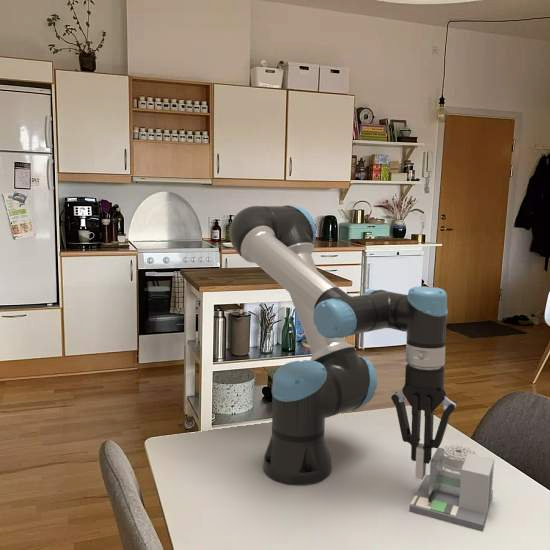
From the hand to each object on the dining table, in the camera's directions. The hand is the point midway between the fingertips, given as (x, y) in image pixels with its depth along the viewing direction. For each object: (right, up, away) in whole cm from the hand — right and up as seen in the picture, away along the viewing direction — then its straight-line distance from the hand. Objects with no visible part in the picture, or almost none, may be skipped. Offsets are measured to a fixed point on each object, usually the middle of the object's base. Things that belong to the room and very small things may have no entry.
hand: (420, 476), depth 115 cm
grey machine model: (+6, -2, -5) cm, 8 cm away
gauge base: (+6, -4, -3) cm, 8 cm away
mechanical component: (+11, -3, +11) cm, 16 cm away
